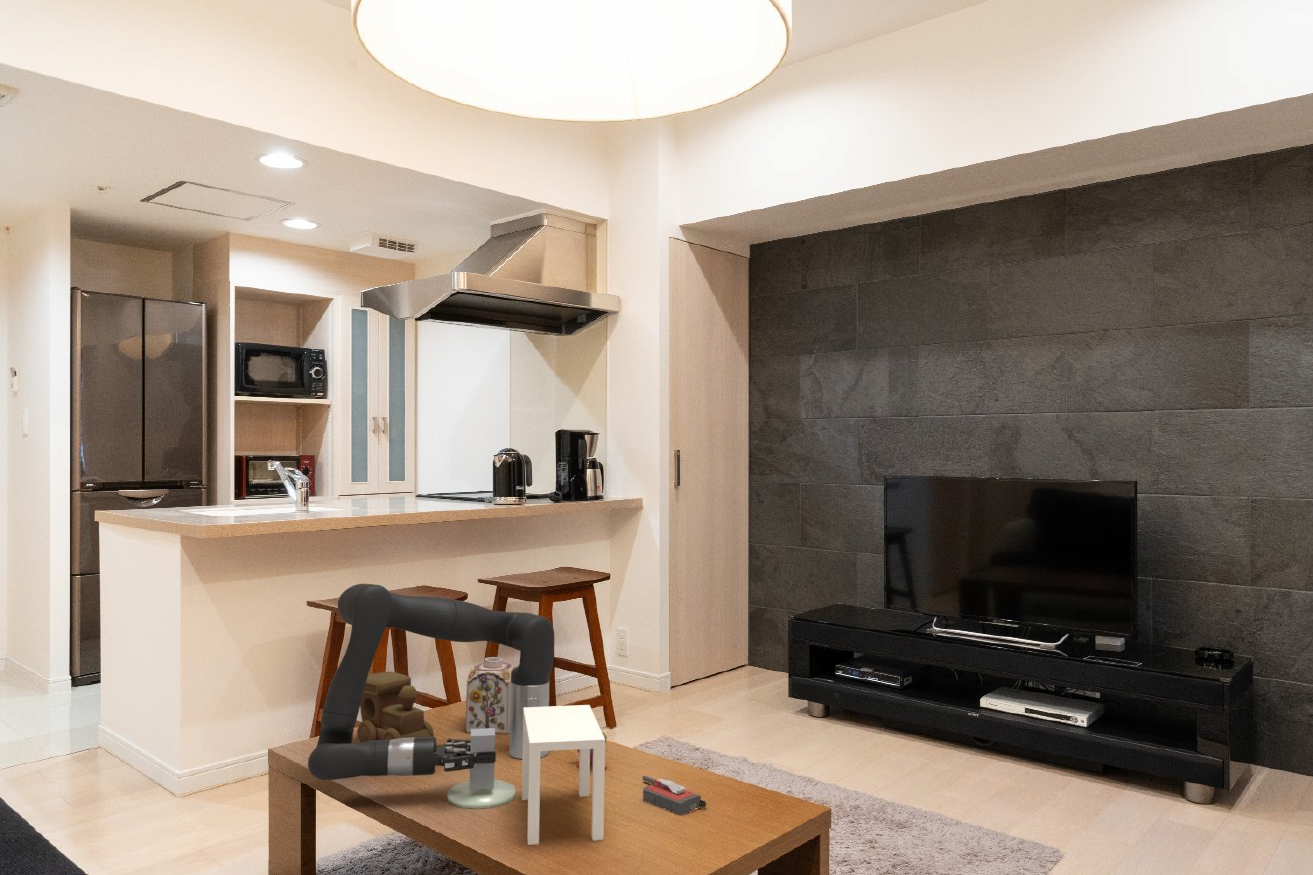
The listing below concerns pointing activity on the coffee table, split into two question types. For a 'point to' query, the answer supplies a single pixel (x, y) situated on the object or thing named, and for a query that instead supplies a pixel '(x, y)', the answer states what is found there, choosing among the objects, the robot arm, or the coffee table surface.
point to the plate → (481, 795)
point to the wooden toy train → (390, 709)
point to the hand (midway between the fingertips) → (495, 752)
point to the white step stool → (562, 733)
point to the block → (483, 772)
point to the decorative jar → (489, 696)
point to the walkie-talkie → (671, 796)
